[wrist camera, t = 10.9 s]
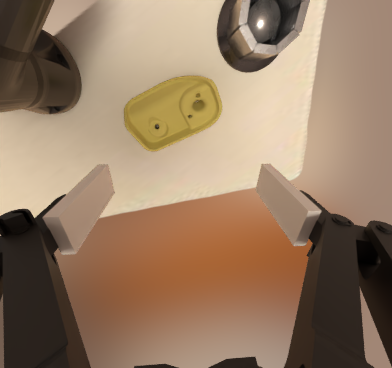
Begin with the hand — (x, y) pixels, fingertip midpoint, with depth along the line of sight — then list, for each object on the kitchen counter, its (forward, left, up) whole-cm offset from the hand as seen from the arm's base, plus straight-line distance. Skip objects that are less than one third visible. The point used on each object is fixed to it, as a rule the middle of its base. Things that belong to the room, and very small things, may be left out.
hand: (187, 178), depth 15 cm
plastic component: (-3, 0, -31) cm, 31 cm away
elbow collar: (+6, +21, -30) cm, 37 cm away
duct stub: (+6, +21, -30) cm, 37 cm away
